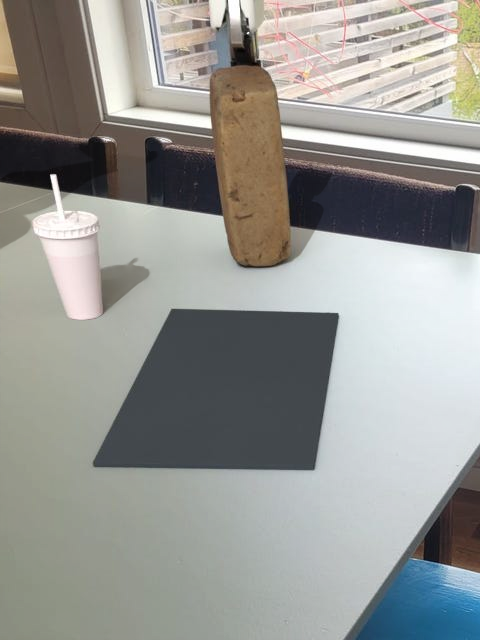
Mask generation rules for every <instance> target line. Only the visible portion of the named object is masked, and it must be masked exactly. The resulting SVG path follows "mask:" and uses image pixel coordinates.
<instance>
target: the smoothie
mask: <svg viewBox="0 0 480 640" xmlns="http://www.w3.org/2000/svg"><path fill="white" fill-rule="evenodd" d="M49 176H50V180H51V181H50V182H51V187H52V191H53V195H54V200H55V204H56V209H57V211H50V212H46V213H42V214H40V215H37V216H36V217H35V218H33V219H32V226H33V232H34V233H35V235H37V236H38V238H39V241H40V243H41V246H42V249H43V252H44V255H45V257H46V261H47V263H48V266H49V269H50V271H51V274H52V277H53V280H54V283H55V286H56V288H57V291H58V294H59V298H60V300H61V303H62V306H63V308H64V311H65V314H66V316H67V317H68V318H69V319H72V320H77V321H85V320H92V319H96V318H99V317H101V316H102V315H103V314H104V307H103V306H104V305H103V291H102V277H101V263H100V246H99V236H98V235H99V233H98V232H99V231H100V230H101V225H100V222H99V217H98V216H97V215H96V214H93V213H91V212H88V211H82V210H64V206H63V201H62V197H61V196H62V195H61V191H60V186H59V181H58V176H57V174H55V173H53V174H52V173H51V174H50V175H49Z"/></svg>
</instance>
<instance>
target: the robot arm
mask: <svg viewBox="0 0 480 640" xmlns="http://www.w3.org/2000/svg"><path fill="white" fill-rule="evenodd" d="M208 11H209V21H210V28H211V29H212V31H214V32H215V33H220V32H221V30H223V29H224V27H225V26H226V30H227V39H228V46H229V53H230V54H229V55H230V61H229V63H230V67H233V66H238V65H247V66H259V67H262V59H260V50H259V49H260V47H259V34H258V32H259V31H258V29H260V28H261V26H262V24H263V23H264V21H265V0H208Z"/></svg>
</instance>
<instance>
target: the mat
mask: <svg viewBox="0 0 480 640" xmlns="http://www.w3.org/2000/svg"><path fill="white" fill-rule="evenodd" d="M339 316H340V315H339V312H319V311H318V312H317V311H316V312H315V311H283V310H282V311H276V310H246V309H245V310H241V309H234V310H233V309H203V308H171V309H170V311H169V313H168V315H167V317H166V319H165V321H164V322H163V325H162V326H161V329H160V330H159V332H158V334H157V336H156V338H155V340H154V342H153V344H152V346H151V348H150V349H149V352H148V354H147V356H146V358H145V360H144V362H143V363H142V366H141V367H140V370H139V371H138V373H137V375H136V377H135V379H134V381H133V383H132V385H131V387H130V389H129V391H128V393H127V395H126V397H125V399H124V401H123V403H122V404H121V407H120V409H119V411H118V412H117V414H116V416H115V418H114V420H113V422H112V424H111V426H110V428H109V430H108V432H107V433H106V436H105V438H104V440H103V441H102V443H101V445H100V448H99V449H98V451H97V453H96V455H95V457H94V459H93V461H92V466H93V467H98V468H154V469H155V468H156V469H157V468H159V469H160V468H161V469H162V468H166V469H167V468H168V469H169V468H170V469H222V470H223V469H225V470H226V469H227V470H228V469H229V470H285V471H287V470H288V471H289V470H290V471H291V470H295V471H296V470H297V471H299V470H300V471H314V470H315V465H316V459H317V453H318V446H319V440H320V435H321V429H322V423H323V422H322V421H323V415H324V409H325V403H326V398H327V397H326V396H327V391H328V385H329V379H330V378H329V377H330V372H331V365H332V360H333V353H334V348H335V341H336V336H337V335H336V334H337V329H338V323H339Z"/></svg>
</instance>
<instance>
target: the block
mask: <svg viewBox="0 0 480 640" xmlns="http://www.w3.org/2000/svg"><path fill="white" fill-rule="evenodd" d="M208 87H209V113H210V114H209V115H210V125H211V134H212V143H213V153H214V160H215V167H216V168H215V169H216V175H217V182H218V183H217V184H218V191H219V197H220V205H221V211H222V217H223V218H222V219H223V223H224V229H225V233H226V240H227V243H228V244H227V245H228V249H229V252H230V255H231V256H232V258H233V260H234V261H235V262H236V263H238V264H240V265H243V266H246V267H247V266H252V267H270V266H275V265H277V264H279V263H280V262H282V261H284V260H287V259H288V258H289V257H290V256H291V253H292V242H291V241H292V239H291V238H292V237H291V236H292V235H291V234H292V233H291V232H292V231H291V220H290V219H291V218H290V217H291V216H290V203H289V191H288V179H287V169H286V159H285V150H284V141H283V131H282V125H281V113H280V106H279V96H278V92H277V86H276V84H275V82H274V81H273V78H272V76H271V74H270V72H269V71H268V70H266V69H265V68H264V67H262V66H261V67H259V66H247V65H238V66H233V67H231V66H227V67H219V68H217V69H215V70H214V71H213V72H212V73H210V78H209V85H208Z"/></svg>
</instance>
